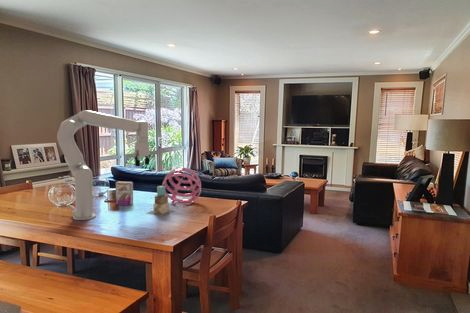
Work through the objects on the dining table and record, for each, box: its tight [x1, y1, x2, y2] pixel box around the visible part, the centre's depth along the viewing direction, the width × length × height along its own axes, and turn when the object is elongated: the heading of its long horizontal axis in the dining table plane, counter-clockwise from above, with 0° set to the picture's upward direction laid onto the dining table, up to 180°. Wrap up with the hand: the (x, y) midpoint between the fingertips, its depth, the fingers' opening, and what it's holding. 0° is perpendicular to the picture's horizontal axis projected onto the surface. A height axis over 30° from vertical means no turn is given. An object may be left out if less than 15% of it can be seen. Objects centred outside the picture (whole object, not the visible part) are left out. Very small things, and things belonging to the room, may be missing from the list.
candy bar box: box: [115, 180, 134, 206], centre depth 230 cm, size 11×5×16 cm, turn 84°
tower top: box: [154, 194, 169, 205], centre depth 210 cm, size 6×6×5 cm
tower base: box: [153, 201, 170, 214], centre depth 211 cm, size 7×7×6 cm
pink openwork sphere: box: [161, 167, 202, 206], centre depth 234 cm, size 28×28×27 cm
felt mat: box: [145, 209, 176, 217], centre depth 211 cm, size 14×14×1 cm
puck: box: [156, 185, 166, 196], centre depth 210 cm, size 5×5×6 cm
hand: (142, 165), depth 214 cm, fingers open, 9 cm apart
